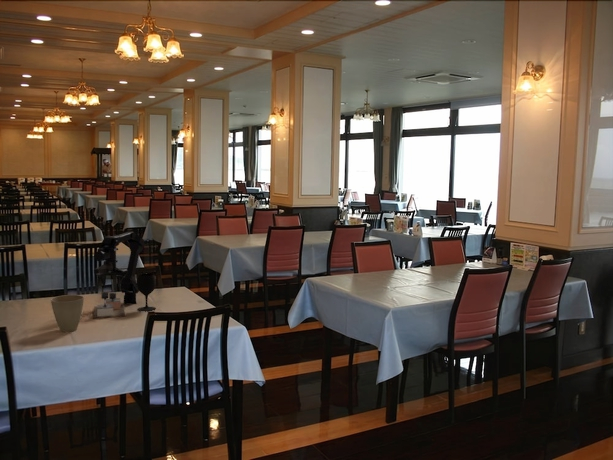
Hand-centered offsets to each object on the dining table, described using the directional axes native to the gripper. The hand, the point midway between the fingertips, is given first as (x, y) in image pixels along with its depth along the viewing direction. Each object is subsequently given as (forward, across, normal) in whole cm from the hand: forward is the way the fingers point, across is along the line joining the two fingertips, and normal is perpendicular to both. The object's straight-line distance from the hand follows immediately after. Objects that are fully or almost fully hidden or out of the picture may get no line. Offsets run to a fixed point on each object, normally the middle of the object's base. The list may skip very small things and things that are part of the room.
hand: (111, 286), depth 314 cm
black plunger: (+9, +5, -11) cm, 15 cm away
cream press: (+13, +4, -11) cm, 18 cm away
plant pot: (+14, +6, -42) cm, 44 cm away
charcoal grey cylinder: (+12, -1, +2) cm, 12 cm away
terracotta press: (+13, -1, +2) cm, 13 cm away
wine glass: (+13, +18, +7) cm, 24 cm away
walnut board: (+13, +2, -5) cm, 14 cm away
